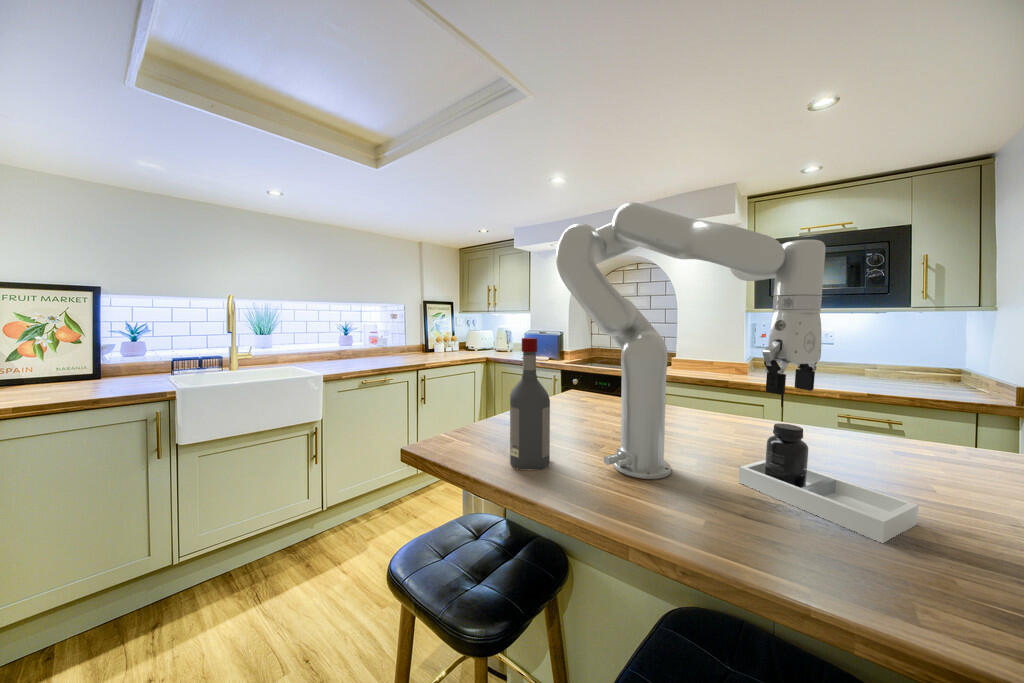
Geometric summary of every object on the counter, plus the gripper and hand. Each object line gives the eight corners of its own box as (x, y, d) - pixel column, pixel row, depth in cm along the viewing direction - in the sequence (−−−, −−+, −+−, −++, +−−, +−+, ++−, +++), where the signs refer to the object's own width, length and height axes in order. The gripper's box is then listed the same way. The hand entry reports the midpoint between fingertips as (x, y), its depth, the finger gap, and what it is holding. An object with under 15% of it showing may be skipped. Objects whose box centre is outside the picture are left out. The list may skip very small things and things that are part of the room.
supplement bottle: (813, 493, 72) (818, 433, 71) (774, 490, 73) (778, 430, 72) (793, 478, 79) (797, 422, 78) (758, 475, 80) (761, 420, 79)
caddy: (882, 543, 58) (884, 522, 58) (738, 482, 79) (739, 466, 78) (916, 524, 63) (918, 504, 63) (773, 472, 84) (773, 457, 84)
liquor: (546, 455, 94) (546, 337, 92) (550, 470, 85) (551, 339, 83) (510, 455, 94) (509, 337, 92) (510, 470, 85) (510, 339, 83)
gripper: (791, 304, 66) (784, 399, 67) (842, 306, 73) (835, 391, 75) (749, 304, 73) (743, 391, 74) (800, 306, 80) (794, 384, 81)
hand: (789, 391), depth 74 cm, fingers open, 9 cm apart
